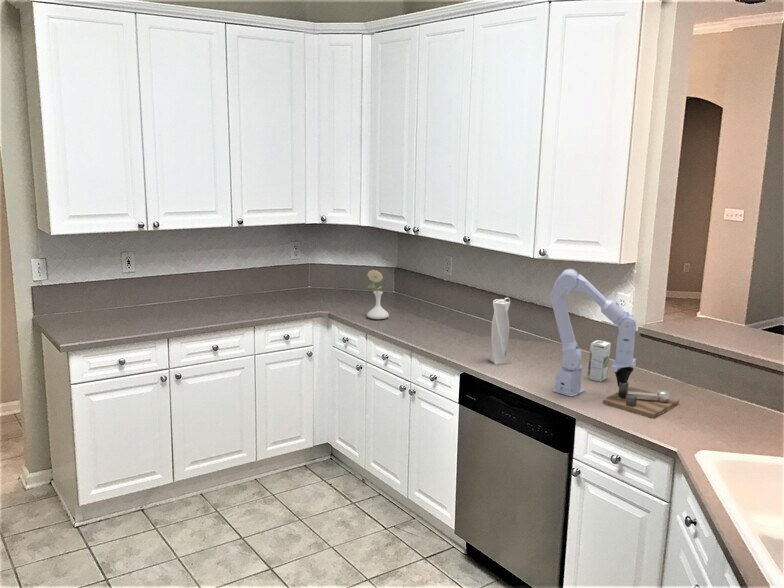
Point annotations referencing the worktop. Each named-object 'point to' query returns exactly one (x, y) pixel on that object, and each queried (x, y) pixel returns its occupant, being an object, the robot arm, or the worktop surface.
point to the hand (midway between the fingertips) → (621, 387)
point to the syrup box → (599, 360)
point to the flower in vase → (377, 310)
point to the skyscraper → (500, 331)
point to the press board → (640, 404)
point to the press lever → (660, 396)
